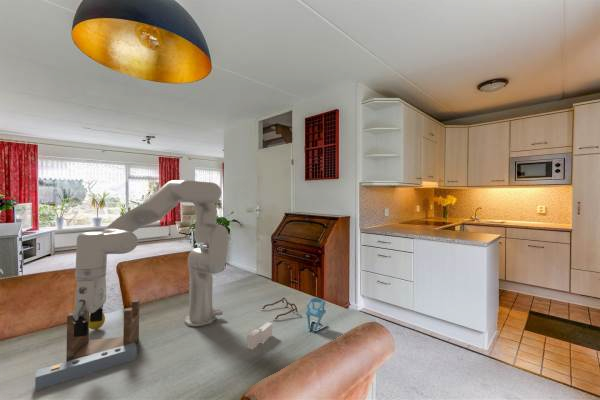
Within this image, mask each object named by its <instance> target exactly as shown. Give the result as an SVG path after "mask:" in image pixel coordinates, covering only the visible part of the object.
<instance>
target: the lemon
mask: <svg viewBox="0 0 600 400" xmlns="http://www.w3.org/2000/svg"><path fill="white" fill-rule="evenodd" d="M105 322H106V317H105V313H104V312H103V314H102V320H101V321H96V322H90V314H89V330H94V331H98V330H99V329H100V328H101V327H103V325H104V323H105Z"/></svg>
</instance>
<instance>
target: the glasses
mask: <svg viewBox="0 0 600 400" xmlns="http://www.w3.org/2000/svg"><path fill="white" fill-rule="evenodd" d="M284 301H285V302H286V303H285V302H284ZM280 302H282V304H283V303H284V304H286V306H288V305H290V307H291V310H289V311H287V312H285V313H279V314H278V315H277V316H275V318H274V319H276V320H277V319H279V317H281V316H286V315H288V314H290V313H292V312H293V311H295V312H297V313H298V312H299V311H298V307H297V305H296V304H295V303H290V302H289V301H288V299H286V298H285V297H282V299H280V300H277V301H275V302H273V303H271V304H270V303H269V304H265V305H264V306H263V307H262V308H261V310H262V309H264V310H265V308H266V307H268V306H271V307H272V306H274V305H276V304H279V303H280ZM293 306H294V307H295V308H294V307H293ZM288 307H289V306H288ZM292 309H293V310H292Z"/></svg>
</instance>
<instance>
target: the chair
mask: <svg viewBox="0 0 600 400" xmlns="http://www.w3.org/2000/svg"><path fill="white" fill-rule="evenodd" d="M311 303H312V306H311V307H310V304H311ZM315 303H318V304H319V305H318V307H315ZM326 303H327V302H326V301H325V300H323V299H322V298H319V297H313V298H310V299H309V300H308V301H307V304H306V306H307V311H305V315H306V319H307V330H308V329H311V330H312V327H311V325H310V321H311V318H310V317H311V316H312V317H315V318H318V320H317V321H318V322H317V324H316V323H315V326H314V329H313V332H314V331H316V330H317V329H320V328H321V326H319V325H320V324H319V323H320V322H321V320H322V318H323V316H324V315H325V314H326V313H327V310H326V309H325V306H326ZM318 327H320V328H318Z"/></svg>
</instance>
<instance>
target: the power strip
mask: <svg viewBox="0 0 600 400" xmlns="http://www.w3.org/2000/svg"><path fill="white" fill-rule="evenodd" d="M137 349H138V348H137V344H136V345H135V343H131V344H127V345H124V346H120V347H117V348H113V349H110V350H106V351H103V352H99V353H95V354H92V355H88V356H85V357H81V358H78V359H74V360H71V361H67V362H66V361H65V362H60V363H57V364H54V365H50V366H46V367H42V368H39V369H36V373H35V379H34V380H35V381H34V382H35V385H34V389H35V391H38V390H41V389H44V388H48V387H51V386H54V385H55V386H56V385H58V384H60V383H64V382H67V381H71V380H73V379H74V380H75V379H76V378H80V377H83V376H87V375H89V374H93V373H96V372H99V371H102V370H104V369H105V370H106V369H107V368H111V367H115V366H118V365H120V364H124V363H127V362H130V361H134V360H137V351H138V350H137Z"/></svg>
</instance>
